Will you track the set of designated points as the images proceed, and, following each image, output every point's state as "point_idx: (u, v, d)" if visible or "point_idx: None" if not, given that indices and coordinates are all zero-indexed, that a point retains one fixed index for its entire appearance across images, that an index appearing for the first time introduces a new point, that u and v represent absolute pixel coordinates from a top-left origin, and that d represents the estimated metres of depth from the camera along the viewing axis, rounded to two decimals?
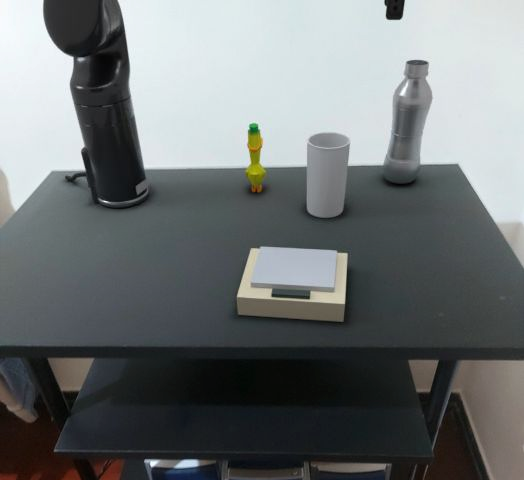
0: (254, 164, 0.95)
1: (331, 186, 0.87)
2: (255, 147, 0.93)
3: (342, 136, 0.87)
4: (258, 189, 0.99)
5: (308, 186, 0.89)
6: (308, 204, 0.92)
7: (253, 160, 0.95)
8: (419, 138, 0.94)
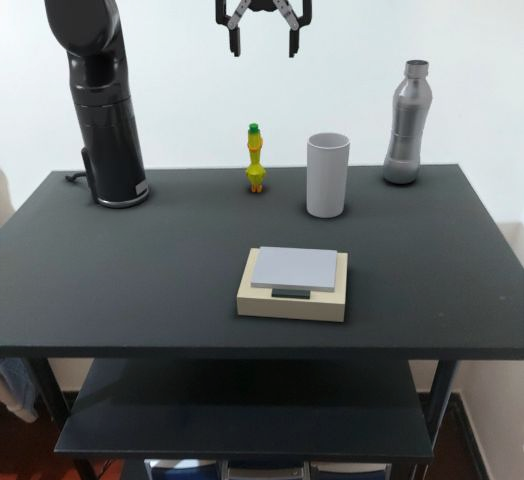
0: (254, 164, 0.95)
1: (331, 186, 0.87)
2: (255, 147, 0.93)
3: (342, 136, 0.87)
4: (258, 189, 0.99)
5: (308, 186, 0.89)
6: (308, 204, 0.92)
7: (253, 160, 0.95)
8: (419, 138, 0.94)
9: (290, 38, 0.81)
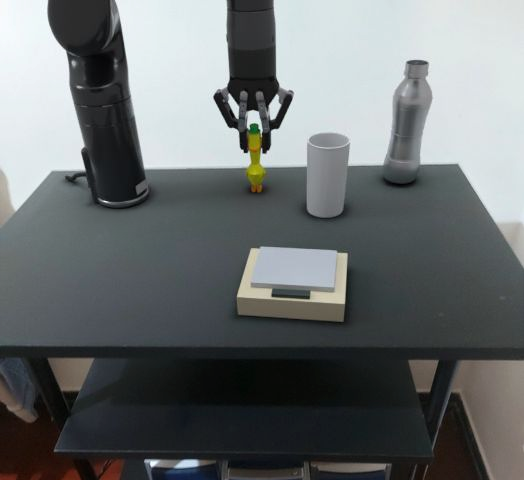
0: (254, 164, 0.95)
1: (331, 186, 0.87)
2: (255, 147, 0.93)
3: (342, 136, 0.87)
4: (258, 189, 0.99)
5: (308, 186, 0.89)
6: (308, 204, 0.92)
7: (253, 160, 0.95)
8: (419, 138, 0.94)
9: (262, 139, 0.92)
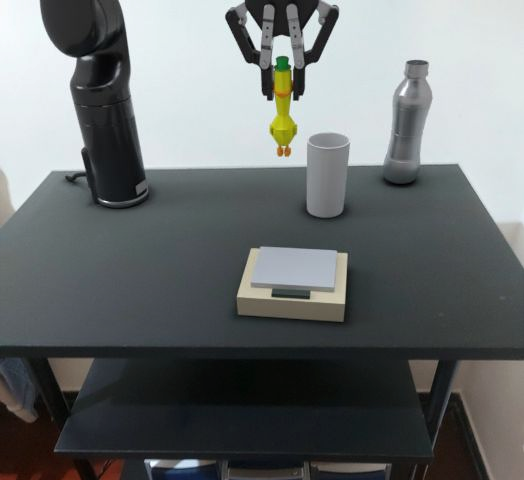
0: (282, 116, 0.69)
1: (331, 186, 0.87)
2: (284, 90, 0.66)
3: (342, 136, 0.87)
4: (286, 152, 0.72)
5: (308, 186, 0.89)
6: (308, 204, 0.92)
7: (281, 110, 0.68)
8: (419, 138, 0.94)
9: (294, 78, 0.66)
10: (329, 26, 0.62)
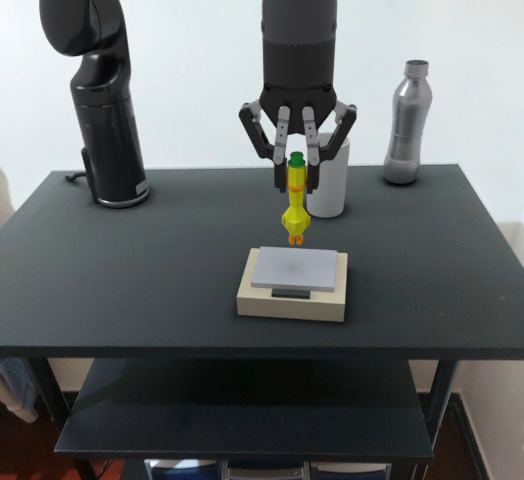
0: (295, 208, 0.67)
1: (331, 186, 0.87)
2: (298, 185, 0.64)
3: None
4: (298, 241, 0.70)
5: None
6: (308, 204, 0.92)
7: (294, 203, 0.66)
8: (419, 138, 0.94)
9: (308, 174, 0.64)
10: (346, 127, 0.60)
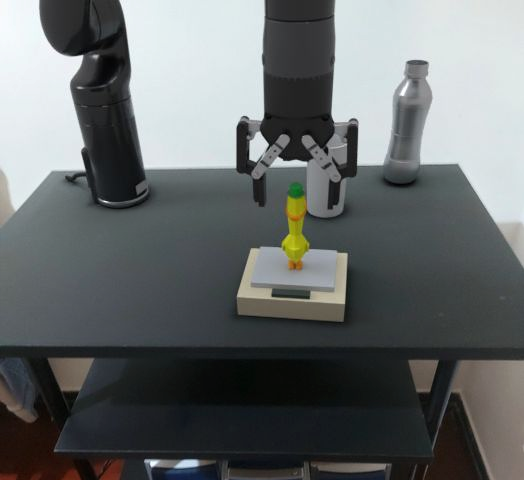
0: (294, 235, 0.69)
1: None
2: (297, 214, 0.67)
3: None
4: (298, 266, 0.73)
5: (308, 186, 0.89)
6: (308, 204, 0.92)
7: (293, 230, 0.69)
8: (419, 138, 0.94)
9: (330, 190, 0.65)
10: (353, 142, 0.60)
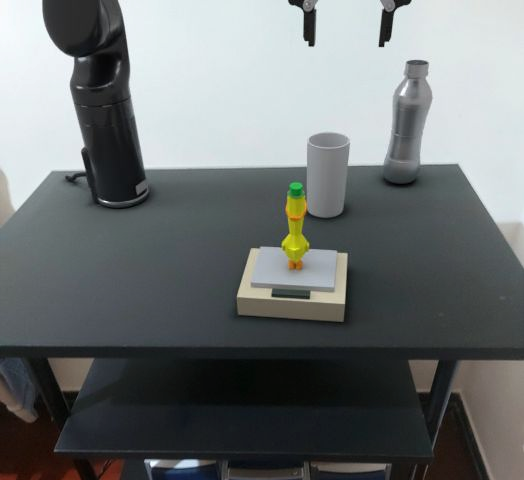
0: (294, 235, 0.69)
1: (331, 186, 0.87)
2: (297, 214, 0.67)
3: (342, 136, 0.87)
4: (298, 266, 0.73)
5: (308, 186, 0.89)
6: (308, 204, 0.92)
7: (293, 230, 0.69)
8: (419, 138, 0.94)
9: (382, 22, 0.64)
10: None
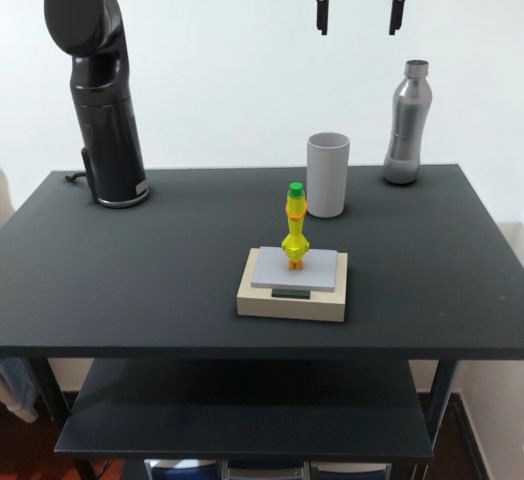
0: (294, 235, 0.69)
1: (331, 186, 0.87)
2: (297, 214, 0.67)
3: (342, 136, 0.87)
4: (298, 266, 0.73)
5: (308, 186, 0.89)
6: (308, 204, 0.92)
7: (293, 230, 0.69)
8: (419, 138, 0.94)
9: (393, 11, 0.66)
10: None
